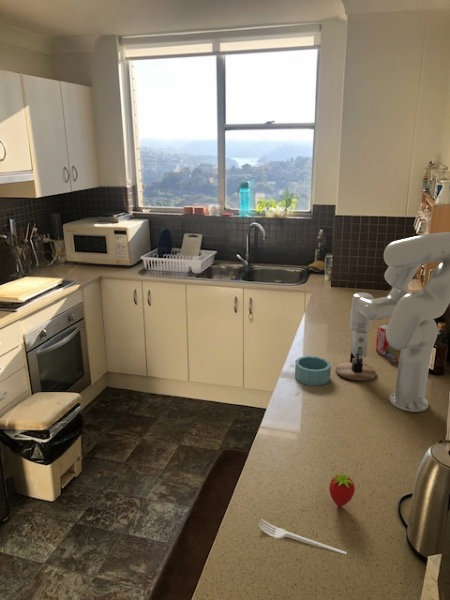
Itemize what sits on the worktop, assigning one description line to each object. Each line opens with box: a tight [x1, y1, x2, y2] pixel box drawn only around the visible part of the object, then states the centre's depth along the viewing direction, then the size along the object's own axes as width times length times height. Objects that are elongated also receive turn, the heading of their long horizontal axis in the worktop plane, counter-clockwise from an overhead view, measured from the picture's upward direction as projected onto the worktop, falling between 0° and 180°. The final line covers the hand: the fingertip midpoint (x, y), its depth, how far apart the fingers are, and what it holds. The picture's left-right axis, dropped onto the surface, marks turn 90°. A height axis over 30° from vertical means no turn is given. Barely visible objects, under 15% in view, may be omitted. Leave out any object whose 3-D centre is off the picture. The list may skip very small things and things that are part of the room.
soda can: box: [375, 323, 389, 356], centre depth 204 cm, size 7×7×12 cm
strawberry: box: [328, 472, 355, 508], centre depth 116 cm, size 6×8×10 cm
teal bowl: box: [294, 355, 332, 387], centre depth 182 cm, size 13×13×6 cm
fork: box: [257, 518, 347, 555], centre depth 107 cm, size 3×20×2 cm, turn 68°
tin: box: [384, 345, 401, 365], centre depth 194 cm, size 15×3×8 cm, turn 62°
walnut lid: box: [335, 358, 377, 382], centre depth 186 cm, size 15×15×6 cm
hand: (355, 367), depth 186 cm, fingers open, 8 cm apart
